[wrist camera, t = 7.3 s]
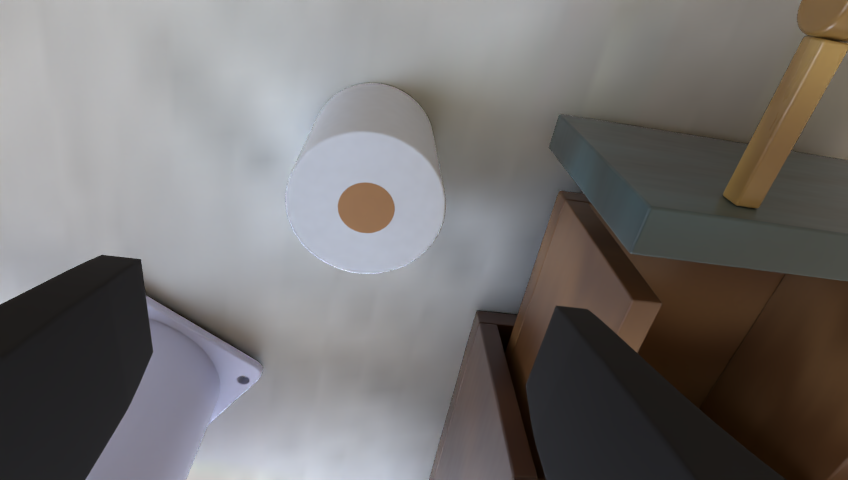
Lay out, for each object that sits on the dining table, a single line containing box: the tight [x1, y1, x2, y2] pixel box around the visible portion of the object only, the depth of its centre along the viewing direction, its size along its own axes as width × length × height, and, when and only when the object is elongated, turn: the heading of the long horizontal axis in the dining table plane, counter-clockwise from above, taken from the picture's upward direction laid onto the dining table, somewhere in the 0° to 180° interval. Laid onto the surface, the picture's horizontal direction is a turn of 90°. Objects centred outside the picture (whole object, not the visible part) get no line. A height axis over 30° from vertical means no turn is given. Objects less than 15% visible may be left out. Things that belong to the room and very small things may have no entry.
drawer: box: [505, 0, 848, 480], centre depth 16 cm, size 18×11×7 cm, turn 170°
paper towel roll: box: [285, 83, 446, 274], centre depth 15 cm, size 4×4×5 cm
